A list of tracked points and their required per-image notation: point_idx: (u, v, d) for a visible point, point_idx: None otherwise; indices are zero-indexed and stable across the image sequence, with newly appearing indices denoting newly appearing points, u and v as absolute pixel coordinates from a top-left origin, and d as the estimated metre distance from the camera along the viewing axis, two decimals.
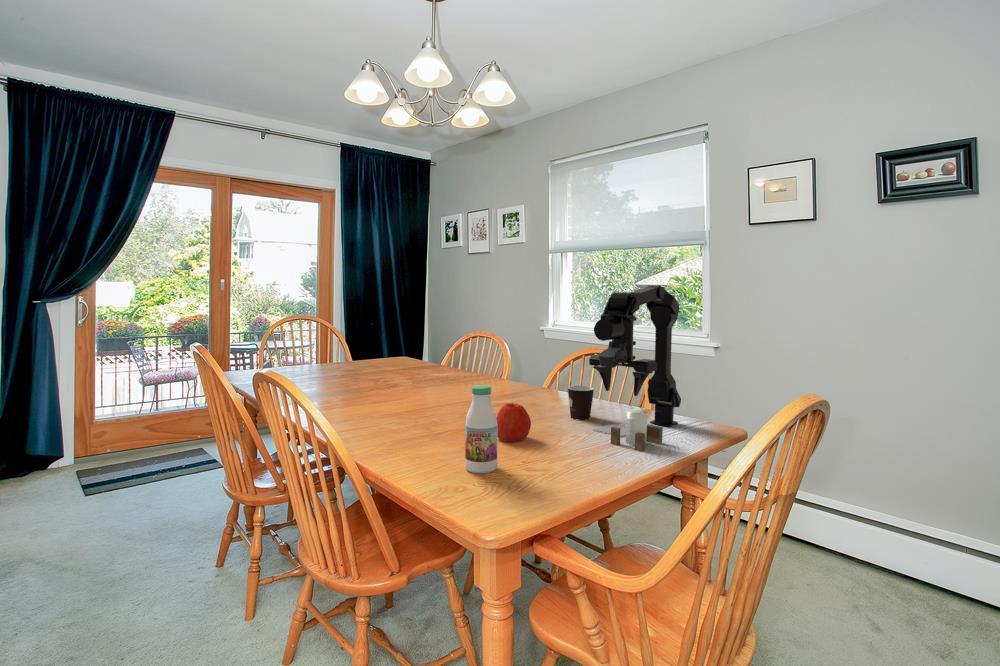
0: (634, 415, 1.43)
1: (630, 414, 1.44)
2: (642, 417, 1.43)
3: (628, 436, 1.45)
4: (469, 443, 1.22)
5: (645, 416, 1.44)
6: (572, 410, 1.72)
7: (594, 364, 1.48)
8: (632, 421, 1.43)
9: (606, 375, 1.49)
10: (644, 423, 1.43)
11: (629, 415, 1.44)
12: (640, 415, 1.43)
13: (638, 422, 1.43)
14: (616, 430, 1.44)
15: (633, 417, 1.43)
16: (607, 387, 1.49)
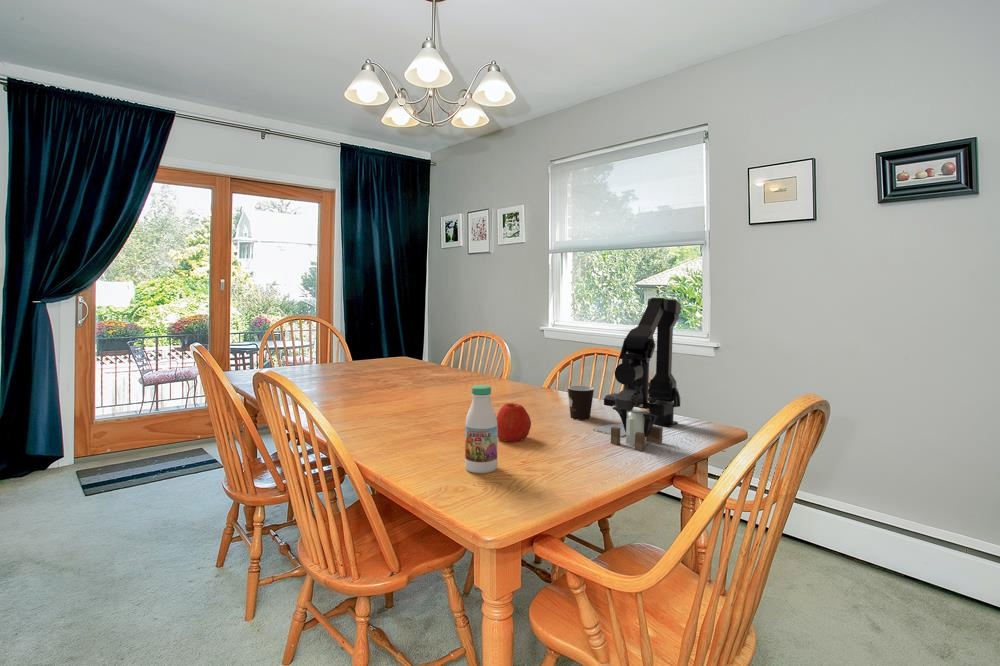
0: (634, 415, 1.43)
1: (630, 414, 1.44)
2: (642, 417, 1.43)
3: (628, 436, 1.45)
4: (469, 443, 1.22)
5: None
6: (572, 410, 1.72)
7: (609, 404, 1.48)
8: (632, 421, 1.43)
9: (626, 416, 1.48)
10: (644, 423, 1.43)
11: (629, 415, 1.44)
12: (640, 415, 1.43)
13: (638, 422, 1.43)
14: (616, 430, 1.44)
15: (633, 417, 1.43)
16: None
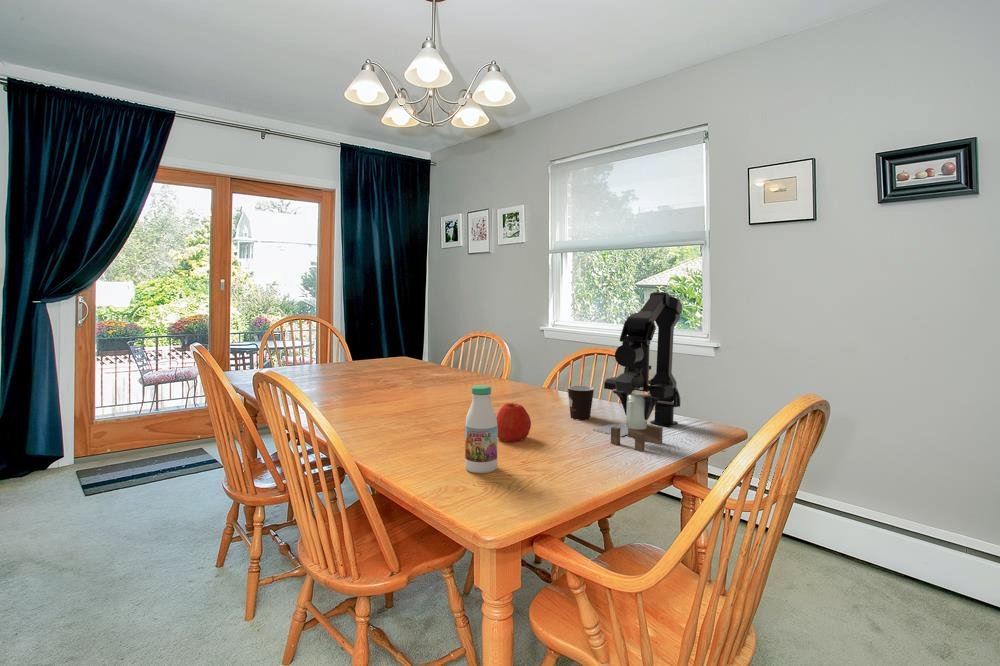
0: (634, 398, 1.43)
1: (630, 397, 1.43)
2: (642, 400, 1.43)
3: (628, 419, 1.44)
4: (469, 443, 1.22)
5: None
6: (572, 410, 1.72)
7: (609, 388, 1.48)
8: (632, 404, 1.43)
9: (626, 400, 1.47)
10: (644, 406, 1.43)
11: (629, 398, 1.44)
12: (640, 398, 1.42)
13: (639, 405, 1.42)
14: (616, 430, 1.44)
15: (633, 400, 1.43)
16: None
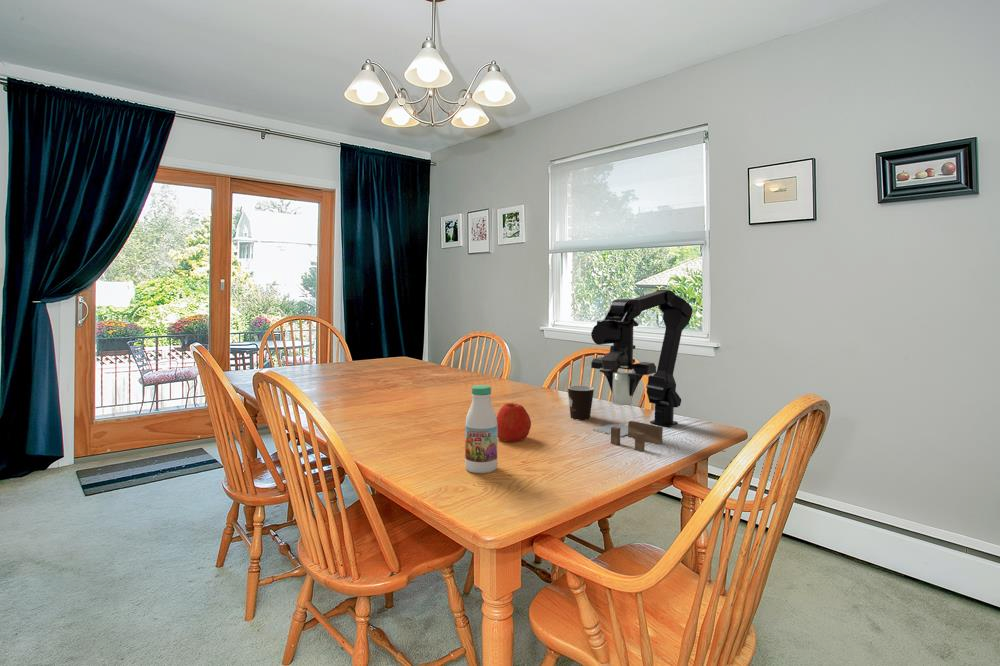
0: (620, 376, 1.52)
1: (616, 375, 1.53)
2: (627, 377, 1.52)
3: (614, 396, 1.54)
4: (469, 443, 1.22)
5: None
6: (572, 410, 1.72)
7: (596, 367, 1.57)
8: (618, 381, 1.52)
9: (612, 378, 1.57)
10: (629, 383, 1.52)
11: (615, 376, 1.53)
12: (625, 375, 1.52)
13: (624, 382, 1.52)
14: (616, 430, 1.44)
15: (619, 377, 1.52)
16: None
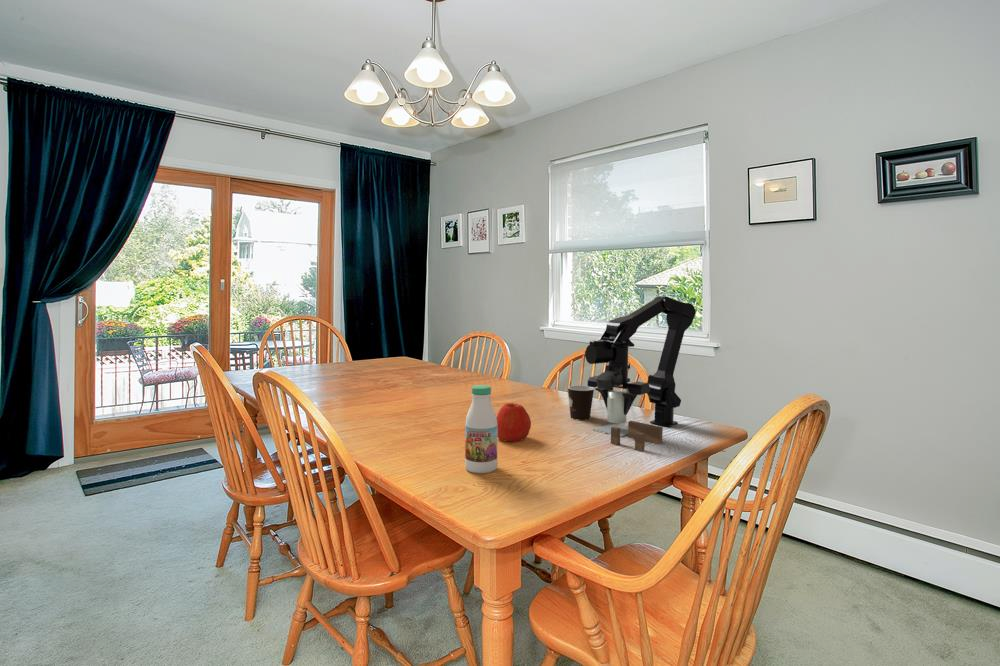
0: (614, 395, 1.56)
1: (611, 394, 1.56)
2: (622, 396, 1.55)
3: (609, 414, 1.57)
4: (469, 443, 1.22)
5: None
6: (572, 410, 1.72)
7: (592, 385, 1.61)
8: (612, 400, 1.55)
9: (607, 396, 1.60)
10: (623, 402, 1.56)
11: (610, 395, 1.57)
12: (620, 394, 1.55)
13: (618, 401, 1.55)
14: (616, 430, 1.44)
15: (613, 396, 1.56)
16: None
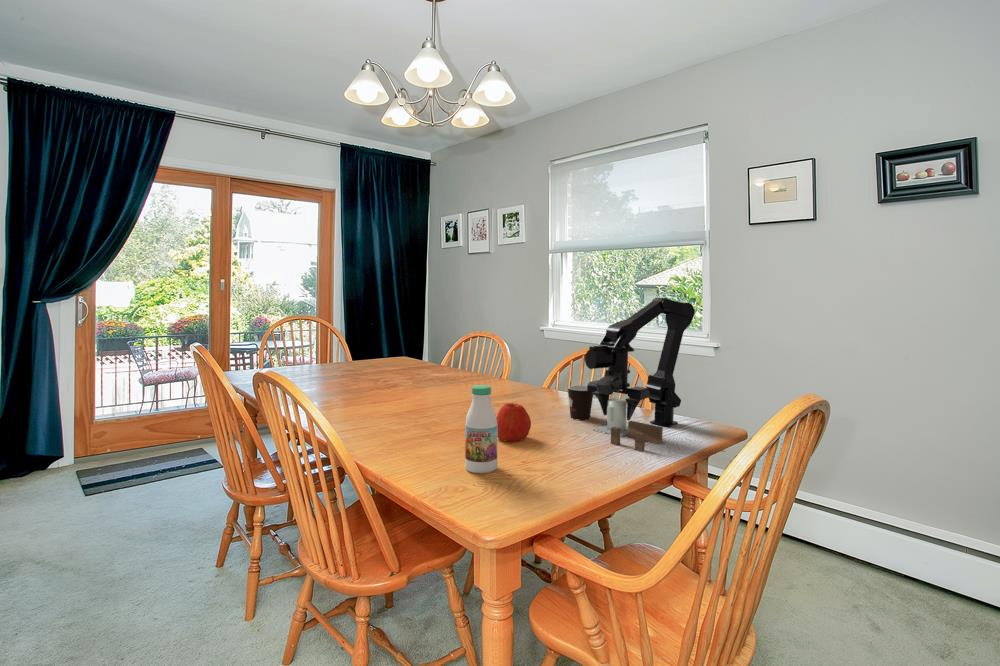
0: (614, 403, 1.56)
1: (610, 402, 1.57)
2: (621, 405, 1.56)
3: (609, 423, 1.58)
4: (469, 443, 1.22)
5: (624, 404, 1.56)
6: (572, 410, 1.72)
7: (592, 390, 1.61)
8: (612, 409, 1.56)
9: (604, 401, 1.61)
10: (623, 411, 1.56)
11: (610, 403, 1.57)
12: (620, 403, 1.55)
13: (618, 409, 1.56)
14: (616, 430, 1.44)
15: (613, 405, 1.56)
16: (605, 412, 1.61)
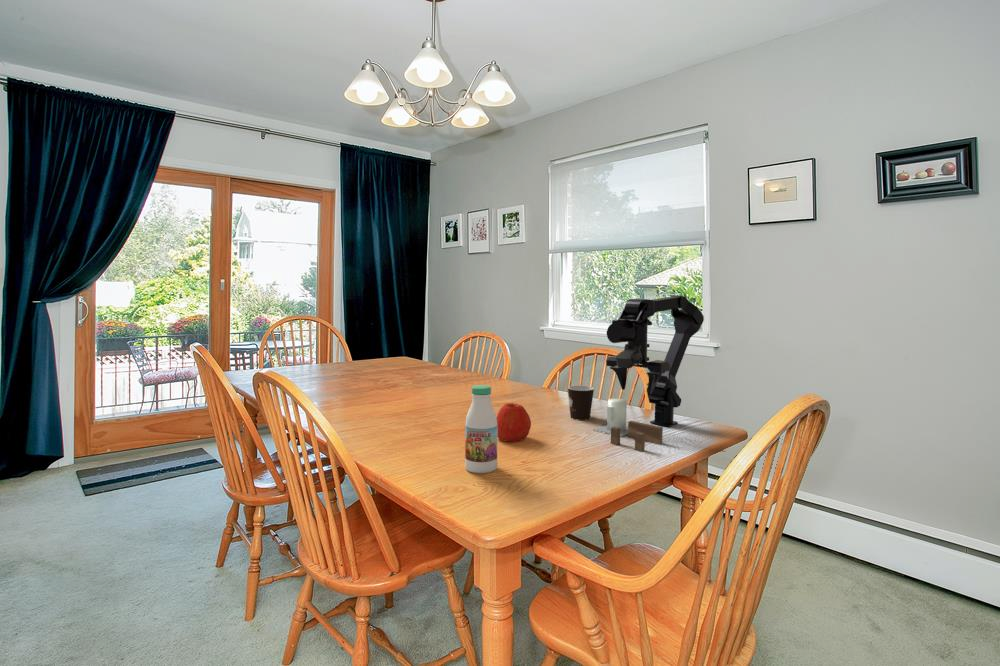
0: (614, 403, 1.56)
1: (610, 402, 1.57)
2: (621, 405, 1.56)
3: (609, 423, 1.58)
4: (469, 443, 1.22)
5: (624, 404, 1.56)
6: (572, 410, 1.72)
7: (611, 365, 1.61)
8: (612, 409, 1.56)
9: (622, 375, 1.62)
10: (623, 411, 1.56)
11: (610, 403, 1.57)
12: (620, 403, 1.55)
13: (618, 409, 1.56)
14: (616, 430, 1.44)
15: (613, 405, 1.56)
16: (623, 386, 1.62)
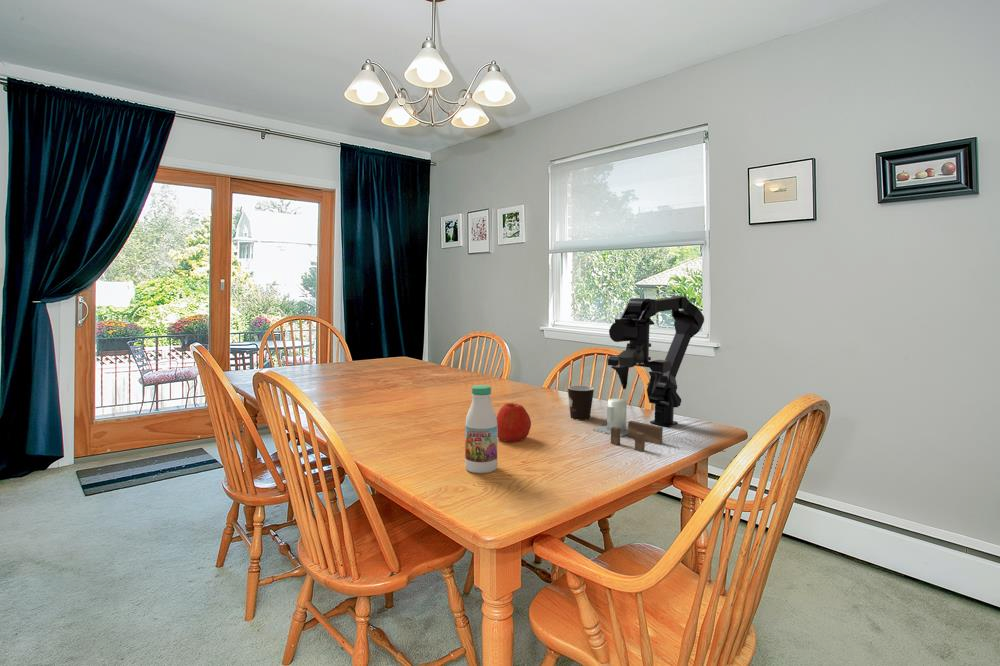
0: (614, 403, 1.56)
1: (610, 402, 1.57)
2: (621, 405, 1.56)
3: (609, 423, 1.58)
4: (469, 443, 1.22)
5: (624, 404, 1.56)
6: (572, 410, 1.72)
7: (612, 364, 1.61)
8: (612, 409, 1.56)
9: (623, 374, 1.61)
10: (623, 411, 1.56)
11: (610, 403, 1.57)
12: (620, 403, 1.55)
13: (618, 409, 1.56)
14: (616, 430, 1.44)
15: (613, 405, 1.56)
16: (624, 386, 1.61)
